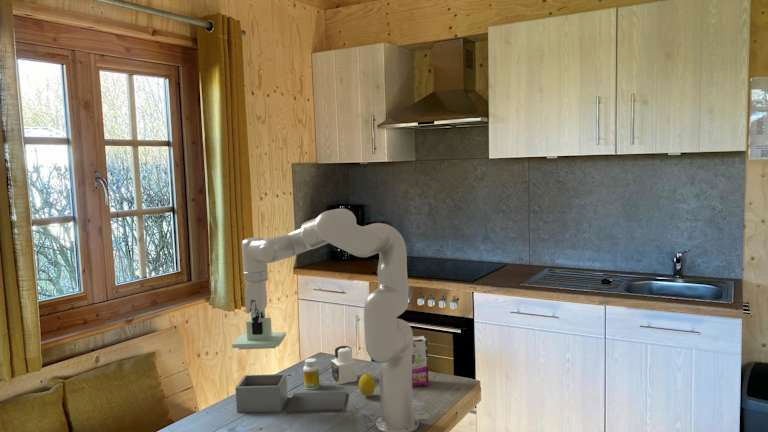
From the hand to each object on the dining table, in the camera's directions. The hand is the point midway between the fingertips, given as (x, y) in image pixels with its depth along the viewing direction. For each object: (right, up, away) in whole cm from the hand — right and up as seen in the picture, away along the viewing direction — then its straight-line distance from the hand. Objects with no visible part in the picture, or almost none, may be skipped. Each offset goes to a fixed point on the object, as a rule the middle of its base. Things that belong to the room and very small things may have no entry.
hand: (259, 331), depth 186 cm
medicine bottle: (+26, -22, +21) cm, 40 cm away
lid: (0, -3, 0) cm, 3 cm away
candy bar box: (+50, -22, +15) cm, 56 cm away
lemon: (+35, -23, +5) cm, 42 cm away
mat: (+19, -24, +2) cm, 30 cm away
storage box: (+1, -24, +2) cm, 24 cm away
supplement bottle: (+15, -23, +16) cm, 32 cm away
